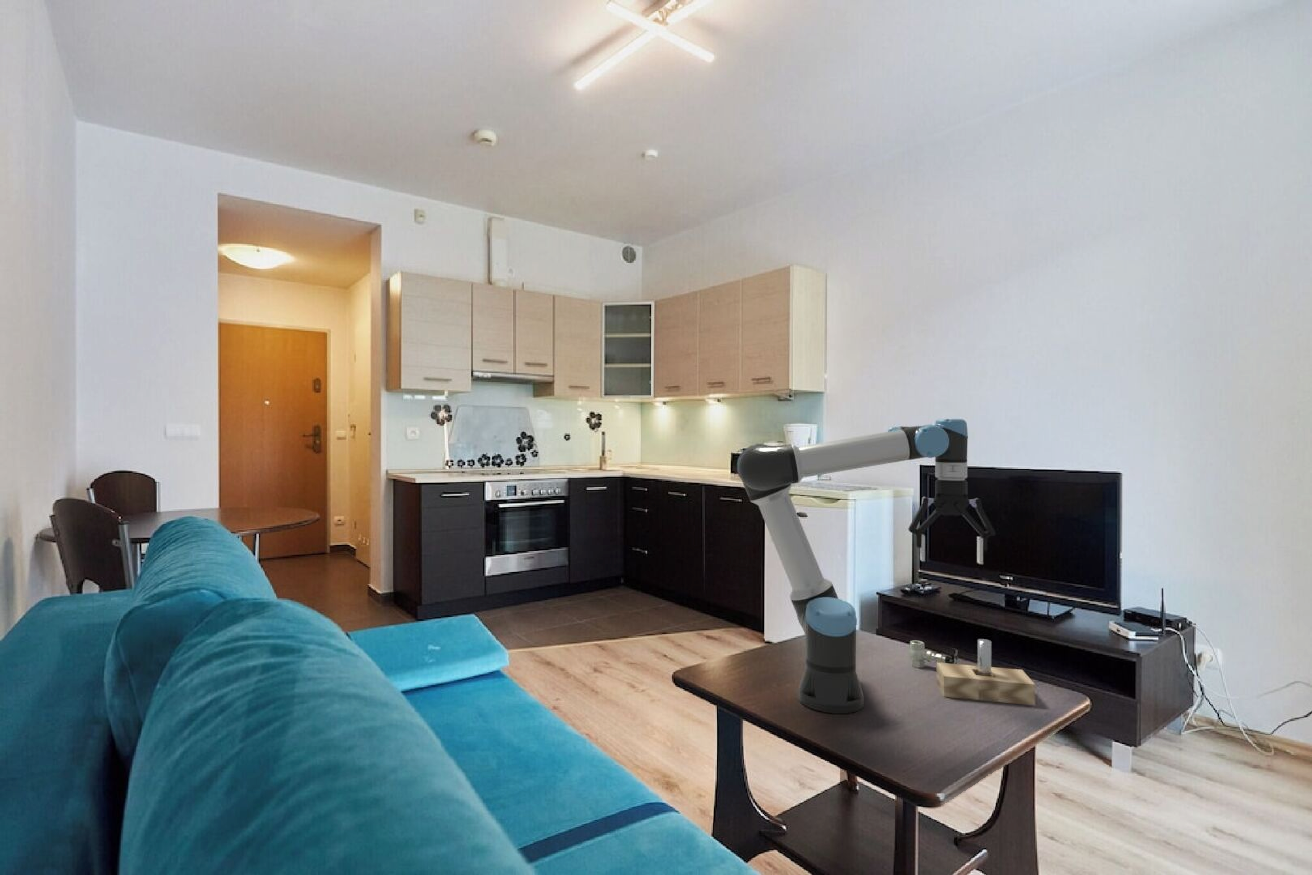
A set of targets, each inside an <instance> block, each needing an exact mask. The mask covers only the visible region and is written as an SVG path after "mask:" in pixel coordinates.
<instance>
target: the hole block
mask: <svg viewBox="0 0 1312 875" xmlns="http://www.w3.org/2000/svg"><path fill="white" fill-rule="evenodd" d="M936 683H937V685H938V687H939V689H940V692H941V693H942V695H943V697H944V698H954V699H964V700H965V699H966V700H972V701H973V700H974V701H985V702H993V703H994V702H996V703H1005V704H1006V703H1007V704H1016V705H1017V704H1018V705H1027V706H1036V684H1035V682H1034V681H1033V680H1032V679H1031V678H1030V677H1029V676H1028V675H1027V673H1026V672H1025V671H1024V670H1023V669H1017V668H1005V667H994V666H991V677H990V676H978V665H969V664H958V663H957V664H949V663H944V662H936Z"/></svg>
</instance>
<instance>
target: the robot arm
mask: <svg viewBox="0 0 1312 875" xmlns="http://www.w3.org/2000/svg"><path fill="white" fill-rule="evenodd" d="M968 433H969V432H968V424H967V421H965V419H962V418H944V419H943V418H941V419H940V418H939V419H936V420H935V423H934V425H933V424H925V425H916V426H914V425H913V426H903V425H902V426H891V427H889V428H888V429H887V431H885V432H880V433H874V434H867V435H862V436H856V437H850V438H844V439H838V440H833V441H826V442H821V443H814V444H808V445H803V446H796V445H794V444H793V443H790V444H783V445H766V444H763V443H762V444H761V443H759V444H758V443H757V444H753V445H749V446H748V447H746V448H745V449H744V450H742V452H741V453H740V455H739V456H738V459H737V462H736V471H737V473H738V477H739V478H740V479H741V482H742V483H743V487H744V489H745V491H746V493H747V496H748V499H749V501H750V502H751V503H753V504H755V505H757V506H758V508H759V512H760V513H761V516H762V519H763V520H764V523H765V525H766V527H767V530H768V532H769V535H770V537H771V540H772V543H773V544H774V548H775V549H776V552H777V554H778V556H779V559H780V561H781V564H782V567H783V570H784V572H785V573H786V576H787V578H788V581H789V583H790V586H791V589H792V590H791V593H790V595H789V599H790V601H791V604H792V606H793V608H794V611H795V613H796V617H797V618H796V619H797V620H798V622H799V625H800V626H801V629H802V631H803V632H804V636H805V669H804V671H803V673H802V676H801V680H800V682H799V686H798V690H797V691H798V693H797V694H798V696H797V698H798V700H799V702H800V703H801V704H802V705H804V706H806V707H807V708H809V709H812V710H815V711H819V712H823V713H828V714H841V715H842V714H850V713H851V714H852V713H855V712H858V711H859V710H861V709H862V708H863V707H864V703H865V702H864V693H863V690H862V685H861V683H860V680H859V677H858V674H857V662H856V661H857V624H858V622H857V621H858V620H857V613H856V612H857V611H856V610H855V607H854V606H853V605H852V604H851V603H850V602H848V601H846V600H843V599H841V598H839V596H838V595H837V592H836V590H835V586H834V585H833V582H832V581H831V580H829V579H827V578H825V577H824V576H823V573H822V571H821V569H820V566H819V563H818V562H817V561H818V560H817V559H816V556H815V554H814V552H813V549H812V547H811V544H810V542H809V539H808V538H807V535H806V532H805V530H804V527H803V525H802V522H801V519H800V518H799V515H798V514H797V510H796V508H795V506H794V503H793V501H792V497H791V495H790V491H791V488H792V485H794V484H799V483H800V482H801V481H802V480H803V478H809V477H814V476H815V477H817V476H821V475H826V474H828V475H829V474H833V473H838V472H845V471H851V470H855V469H856V470H857V469H863V468H869V467H875V466H880V465H887V464H893V463H899V462H904V461H912V460H918V459H924V458H928V459H932V458H935V459H934V463H935V464H934V465H935V467H934V468H935V469H934V471H935V472H934V474H935V476H934V477H935V478H937V479H935V482H934V484H935V485H934V487H935V488H934V492H935V493H934V494H935V495H934V497H933V498H931V497H926V496H923V497H921V505H920V507H919V508H918V510H917V511H916V514H915V515H914V517H913V519H912V522H910V525H909V526H908V531H909V532H910V533H912V534H914V535H915V546H916V548H917V549H918V548H919V552H920V553H919V554H920V555H919V559H920V561H921V562H926V535H924V532H926V530H927V529H929V527H930V526H931V525H932V524H934V522H935V521H936V520H937V519H938V518H939V517H940V516H941V515H944V516H946V517H947V516H948V517H949V516H956V517H959V516H960V515H962V517H963V518H964V519H965V520H966V521H967V523H969V524H970V525H971V526H972V528H973V529H974V530H975V531H976V532H977V533H978V534H979V536H976V563H977V564H979V565H984V551H986V552H987V550H988V538H990V537H993V536H996V531H995V528H994V526H993V525H992V524H991V521H990V520H989V517H988V516H987V515H986V512H985V510H984V509H983V504H982V500H981V499H980V498H978V497H976V498H973V499H969V497H968V481H967V480H966V479H967V478H968V442H969V441H968V438H969V434H968ZM931 504H933V505H934V506H935V509H934V510H933V512H931V514H930V515H929V516H928V517H927V518H926V519H925V520H924V521H923V523H922V524H921V525H920V526H918V525H919V524H920V521H921V520H922V519H923V517H924V515H925V513H926V511H927V509H928V507H930V506H931ZM969 505H971V507H973V508H975V511H976V513H977V514H978V517H979V519H980V520H981V523H982V524H983V525H984V526H983V527H984V528H985V530H986V531H985V530H984V529H983V528H982V526H981V525H980V524H979V523H978V522H977V521H976V520H975V518H973V517H972V515H971V514H970V513H969V512H968V511H967V510H966V509H967V508H968V506H969Z"/></svg>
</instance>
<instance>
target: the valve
mask: <svg viewBox="0 0 1312 875" xmlns="http://www.w3.org/2000/svg"><path fill="white" fill-rule="evenodd" d="M925 644H926V643H925V642H923V641H921V640H916V639H915V640H910V641H909V646H910V649H909V651H908V654H909V657H910V659H909V662H910V663H909V664H910V666H911V667H913V668H918V669H921V668H922V669H923V668H925V664H926V663H925V661H926V662H928V663H931V662H932V661H936V662H938V663H943V661H944V662H945V663H949V664H958V660H959V656H958V649H956V648H953V647H952V648H951V651H952V652H951V653H949V654H948V655H945V656H943V655H942V654H939V653H936V654H935V653H934V652H933V651H932V650H930V649H929V650H927V651H926V650H925V649H926V647H925Z"/></svg>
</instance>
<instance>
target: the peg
mask: <svg viewBox="0 0 1312 875" xmlns="http://www.w3.org/2000/svg"><path fill="white" fill-rule="evenodd" d="M977 666H978V676H990V677H991V667H992V641H991V640H989V639H984V638H978V639H977Z"/></svg>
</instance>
